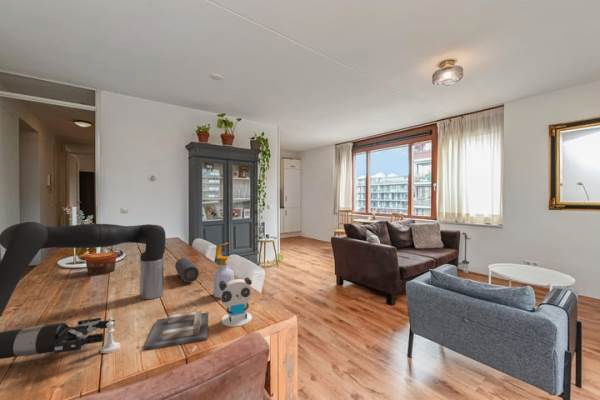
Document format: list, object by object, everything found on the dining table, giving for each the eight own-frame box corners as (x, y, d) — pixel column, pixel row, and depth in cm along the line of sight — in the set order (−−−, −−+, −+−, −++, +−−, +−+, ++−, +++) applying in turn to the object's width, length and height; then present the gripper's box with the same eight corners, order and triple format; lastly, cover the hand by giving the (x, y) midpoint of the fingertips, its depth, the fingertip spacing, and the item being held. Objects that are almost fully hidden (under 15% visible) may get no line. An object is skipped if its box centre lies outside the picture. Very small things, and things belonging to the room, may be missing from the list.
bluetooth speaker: (200, 282, 138) (200, 264, 137) (181, 286, 132) (181, 267, 132) (191, 272, 156) (191, 255, 156) (174, 274, 151) (174, 257, 151)
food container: (104, 276, 148) (104, 258, 148) (77, 276, 148) (76, 257, 148) (123, 268, 164) (123, 251, 164) (99, 268, 164) (98, 251, 164)
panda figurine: (221, 329, 90) (221, 287, 90) (218, 315, 101) (217, 277, 100) (255, 322, 95) (255, 282, 95) (248, 310, 105) (248, 273, 105)
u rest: (144, 350, 78) (144, 340, 78) (157, 322, 96) (156, 314, 95) (207, 339, 84) (207, 330, 84) (208, 314, 101) (208, 307, 101)
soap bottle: (228, 299, 116) (228, 245, 116) (210, 297, 118) (209, 244, 117) (237, 291, 125) (236, 241, 124) (219, 290, 127) (219, 240, 126)
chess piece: (107, 344, 81) (106, 313, 81) (123, 343, 82) (123, 312, 82) (96, 354, 76) (95, 321, 76) (113, 353, 77) (113, 320, 77)
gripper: (24, 339, 67) (98, 329, 72) (56, 315, 80) (117, 307, 86) (25, 368, 67) (99, 355, 72) (57, 338, 81) (117, 330, 86)
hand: (109, 329), depth 79 cm, fingers open, 8 cm apart
